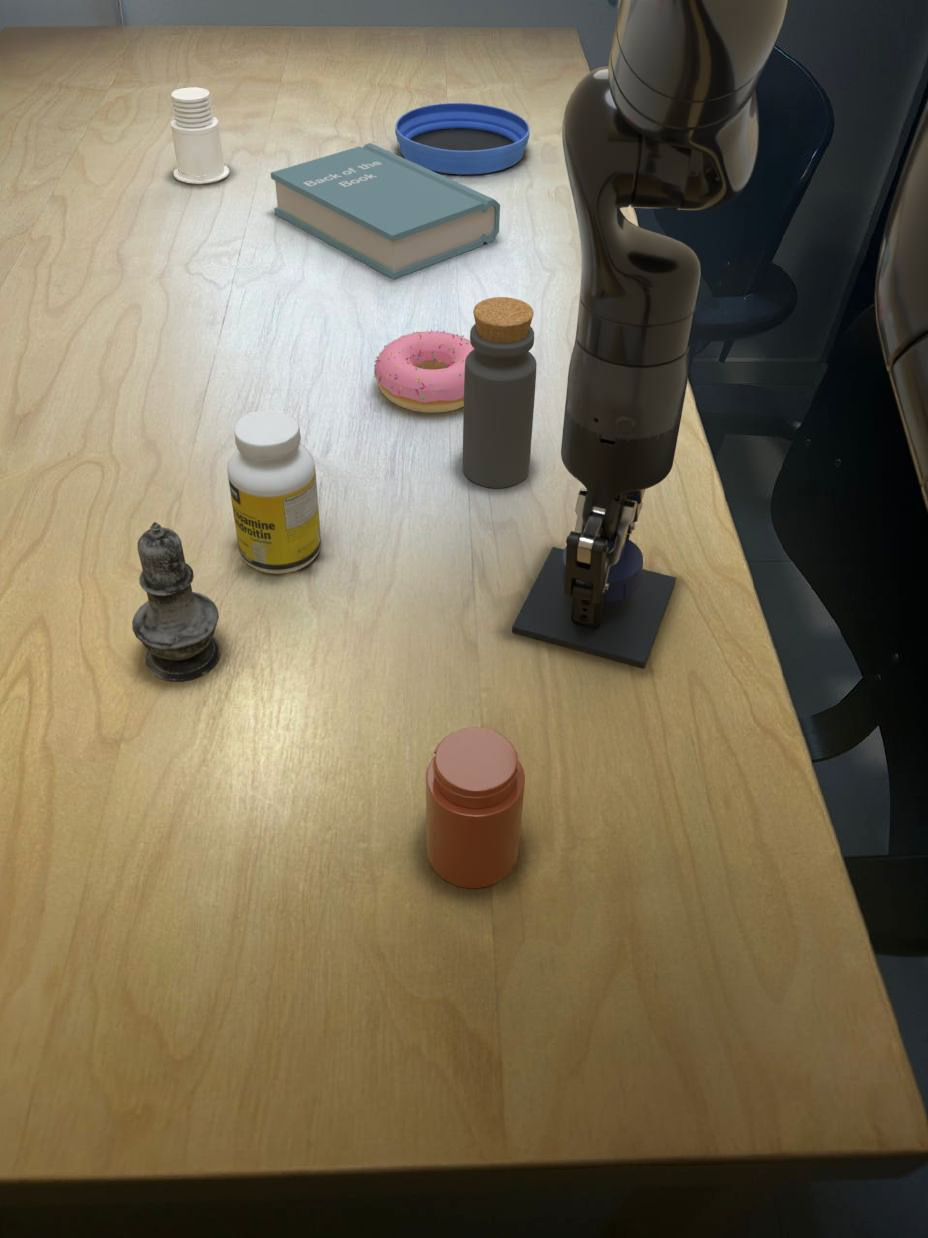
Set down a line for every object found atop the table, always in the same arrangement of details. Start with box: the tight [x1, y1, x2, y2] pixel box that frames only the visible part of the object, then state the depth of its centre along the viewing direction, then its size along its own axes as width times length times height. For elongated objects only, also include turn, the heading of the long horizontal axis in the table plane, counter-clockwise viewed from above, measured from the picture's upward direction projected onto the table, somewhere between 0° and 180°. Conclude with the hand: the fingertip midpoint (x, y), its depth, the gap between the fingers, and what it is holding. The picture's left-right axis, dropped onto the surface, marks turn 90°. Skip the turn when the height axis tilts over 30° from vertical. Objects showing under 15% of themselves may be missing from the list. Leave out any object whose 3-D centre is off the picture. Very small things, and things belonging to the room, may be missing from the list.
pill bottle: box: [226, 409, 322, 575], centre depth 84 cm, size 6×6×12 cm
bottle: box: [462, 296, 537, 489], centre depth 91 cm, size 6×6×15 cm
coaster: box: [511, 546, 677, 669], centre depth 83 cm, size 10×10×1 cm
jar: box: [425, 726, 526, 889], centre depth 64 cm, size 6×6×9 cm
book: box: [270, 142, 501, 280], centre depth 131 cm, size 23×16×5 cm
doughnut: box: [373, 329, 474, 414], centre depth 104 cm, size 11×11×4 cm
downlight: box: [170, 86, 230, 185], centre depth 139 cm, size 8×7×10 cm
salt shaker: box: [131, 521, 222, 683], centre depth 75 cm, size 6×6×12 cm
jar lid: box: [562, 538, 644, 602], centre depth 81 cm, size 6×6×2 cm
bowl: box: [394, 102, 530, 175], centre depth 149 cm, size 18×18×4 cm
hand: (597, 596), depth 83 cm, fingers closed on jar lid, 5 cm apart
